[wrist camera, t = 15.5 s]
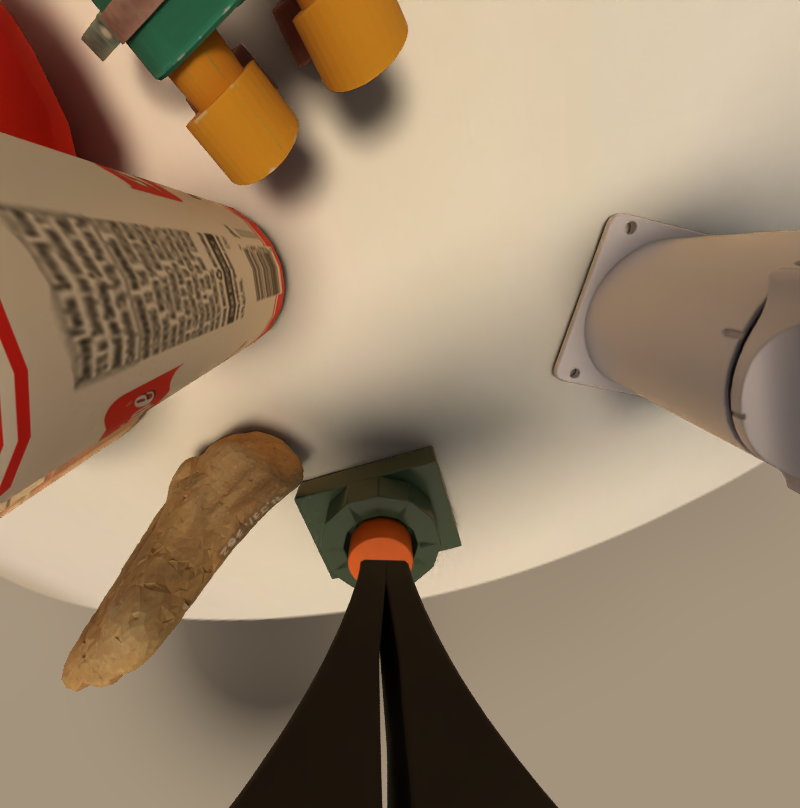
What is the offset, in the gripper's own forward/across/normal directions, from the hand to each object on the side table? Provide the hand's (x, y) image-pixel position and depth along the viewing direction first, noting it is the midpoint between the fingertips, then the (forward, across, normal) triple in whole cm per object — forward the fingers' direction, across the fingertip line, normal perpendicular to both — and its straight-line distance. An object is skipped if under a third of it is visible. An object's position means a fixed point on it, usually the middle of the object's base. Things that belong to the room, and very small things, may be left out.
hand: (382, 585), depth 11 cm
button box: (+10, 0, +5) cm, 11 cm away
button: (+7, 0, +5) cm, 9 cm away
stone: (+11, +8, +3) cm, 14 cm away
